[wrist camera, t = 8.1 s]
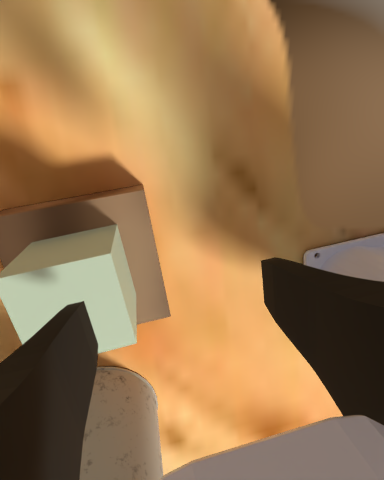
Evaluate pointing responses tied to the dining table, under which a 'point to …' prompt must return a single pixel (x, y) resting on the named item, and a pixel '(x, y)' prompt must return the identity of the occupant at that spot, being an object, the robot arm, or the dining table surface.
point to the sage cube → (73, 285)
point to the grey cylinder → (121, 429)
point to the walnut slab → (91, 217)
